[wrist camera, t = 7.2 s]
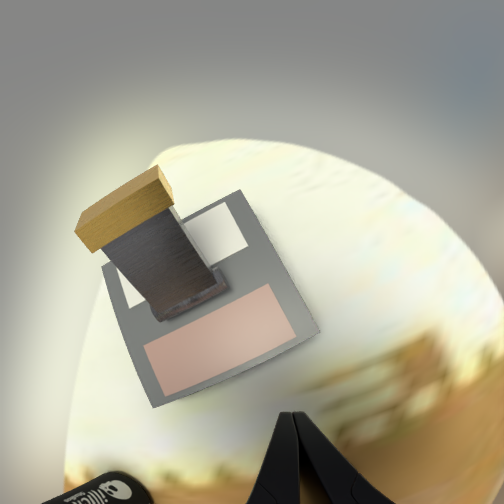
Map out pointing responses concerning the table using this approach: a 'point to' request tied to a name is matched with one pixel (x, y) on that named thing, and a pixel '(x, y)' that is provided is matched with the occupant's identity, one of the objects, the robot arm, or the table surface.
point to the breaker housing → (215, 309)
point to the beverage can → (104, 492)
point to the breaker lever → (151, 245)
